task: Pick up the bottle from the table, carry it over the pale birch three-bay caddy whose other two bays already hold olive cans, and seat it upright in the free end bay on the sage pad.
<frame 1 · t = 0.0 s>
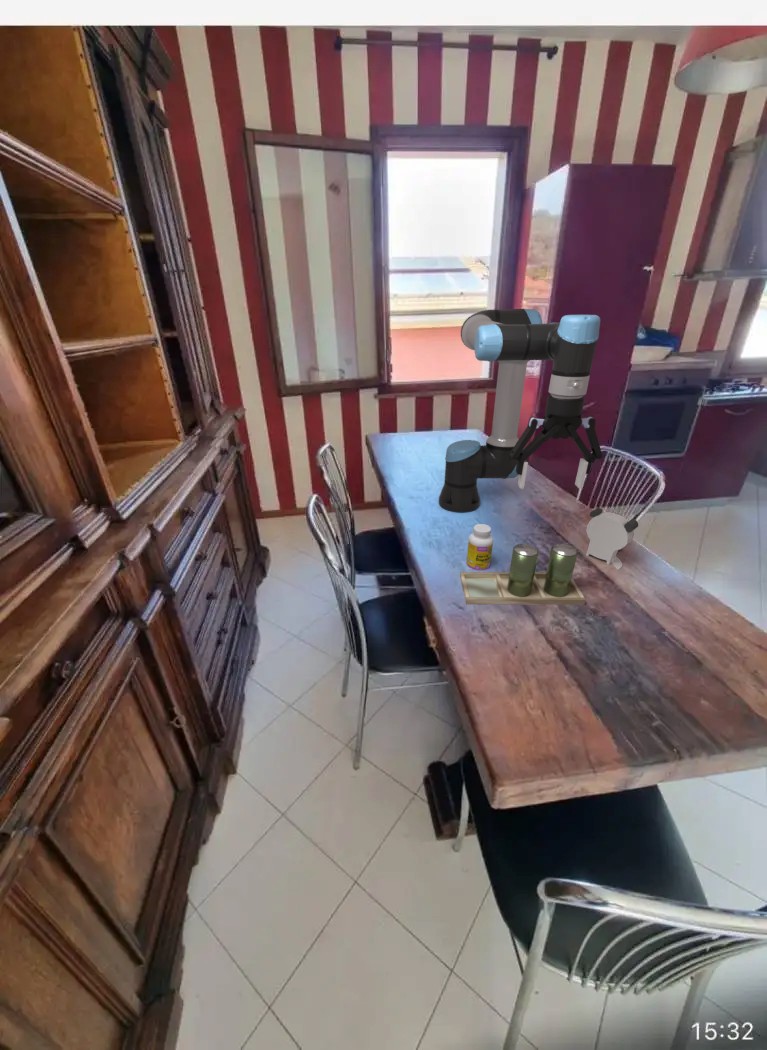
hand: (549, 486, 100), 28 cm above the table, fingers open, 13 cm apart
caddy: (518, 593, 109), on the table
panda figurine: (600, 561, 121), on the table
can b: (555, 590, 108), point 1 cm above the table, touching caddy
supplement bottle: (477, 567, 120), on the table
can a: (519, 589, 108), point 1 cm above the table, touching caddy
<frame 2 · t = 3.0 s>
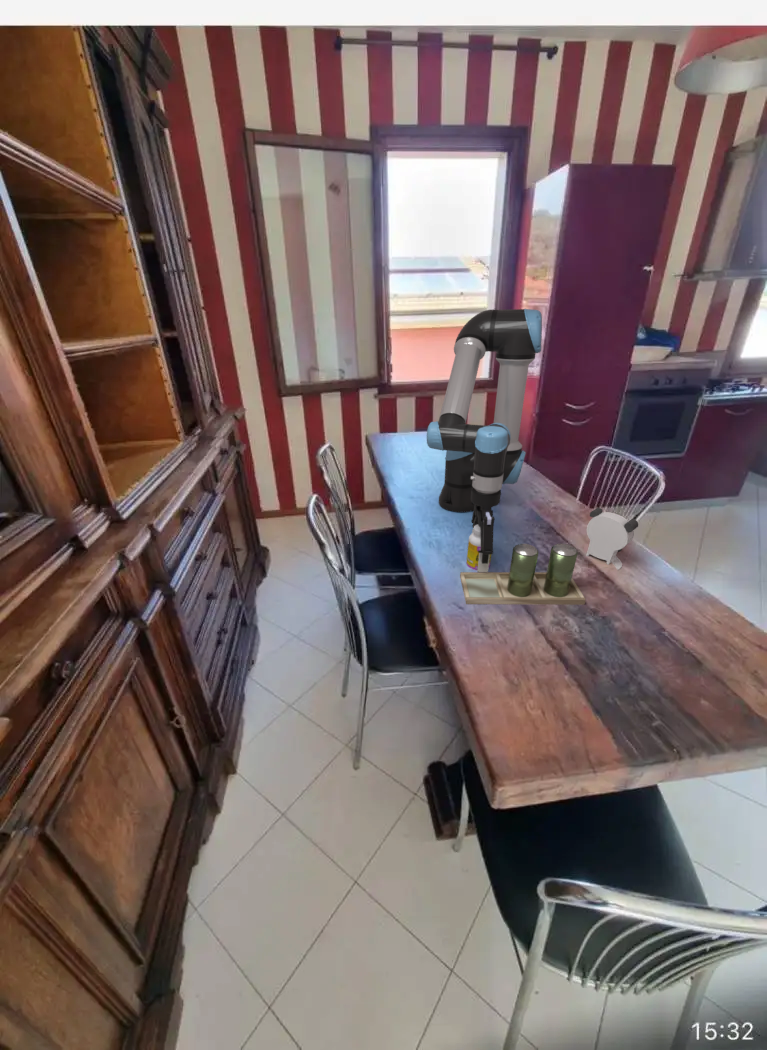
hand: (478, 559, 118), 3 cm above the table, fingers open, 11 cm apart
nothing on the table moved.
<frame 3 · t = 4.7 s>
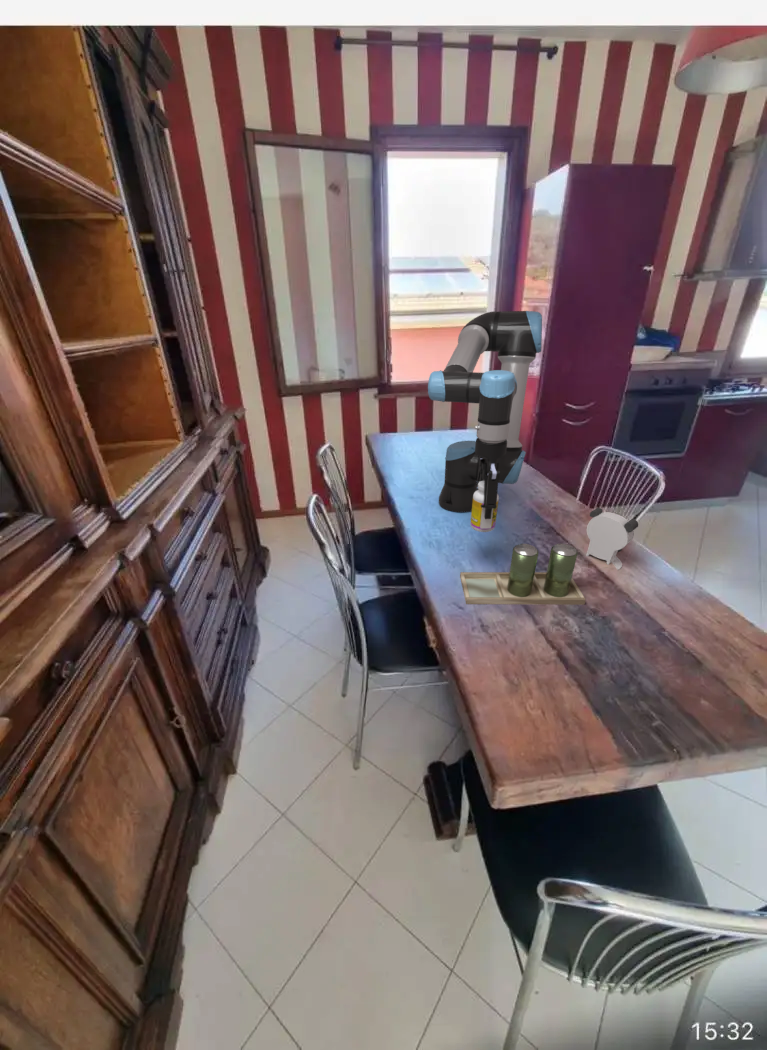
hand: (483, 520, 113), 15 cm above the table, fingers closed on supplement bottle, 7 cm apart
supplement bottle: (482, 527, 114), point 13 cm above the table, touching gripper
everything else where it was.
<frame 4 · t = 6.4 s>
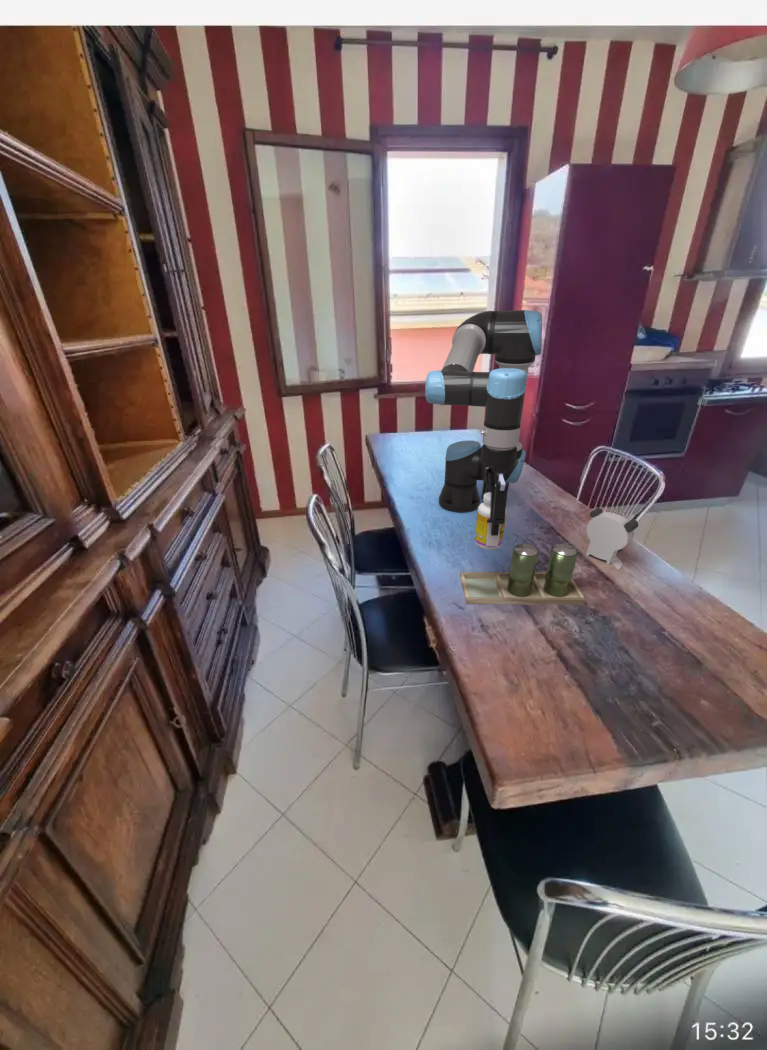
hand: (488, 537, 101), 17 cm above the table, fingers closed on supplement bottle, 7 cm apart
supplement bottle: (488, 544, 102), point 15 cm above the table, touching gripper
everything else where it was.
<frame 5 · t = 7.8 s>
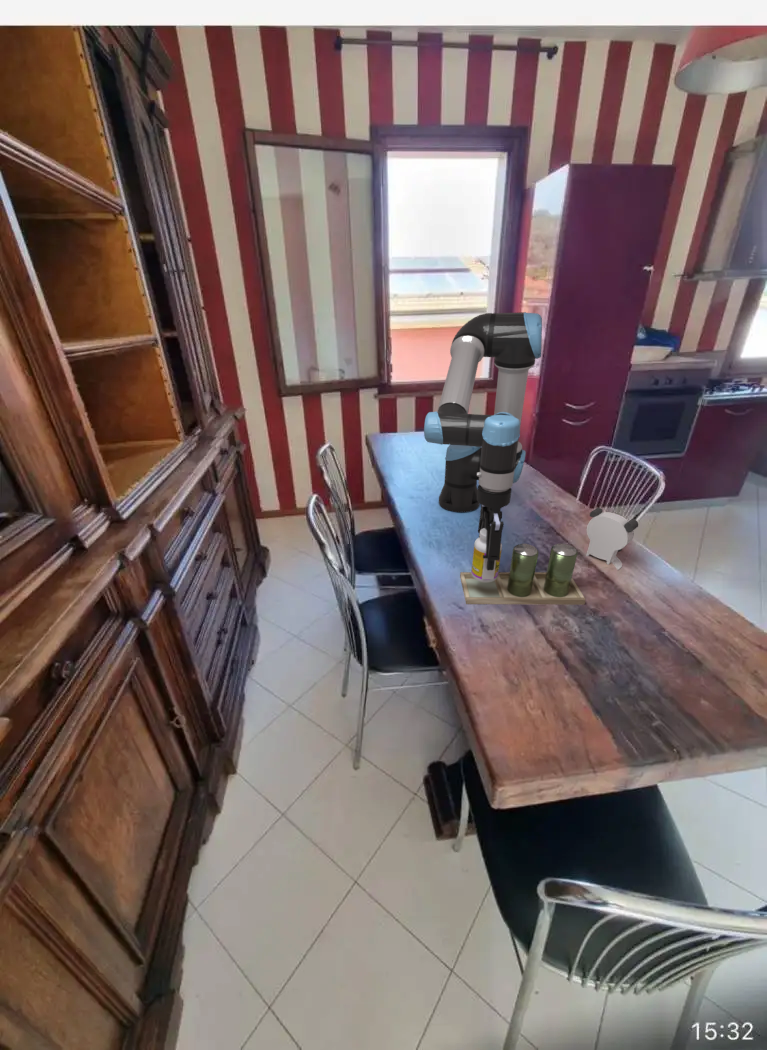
hand: (484, 569, 106), 7 cm above the table, fingers closed on supplement bottle, 7 cm apart
supplement bottle: (484, 576, 107), point 5 cm above the table, touching gripper
everything else where it was.
when the fingers open (4 cm above the table, at t = 9.2 s): supplement bottle drops 1 cm, resting on caddy.
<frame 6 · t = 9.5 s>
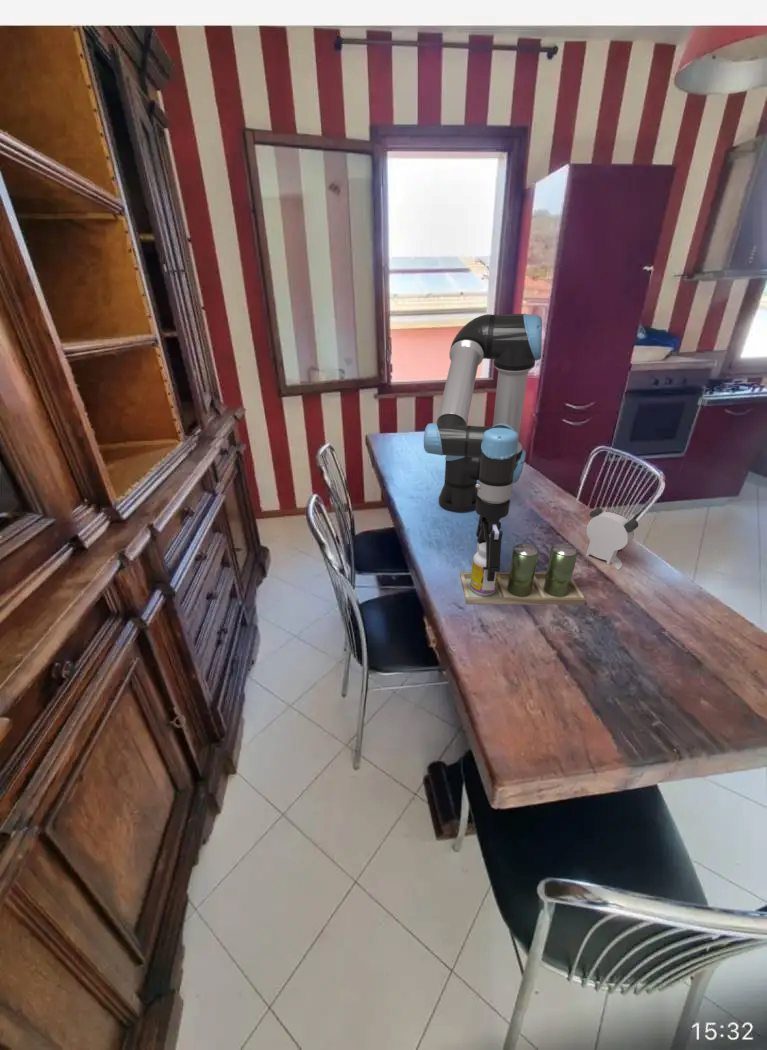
hand: (484, 576, 107), 5 cm above the table, fingers open, 10 cm apart
supplement bottle: (482, 589, 109), point 1 cm above the table, touching caddy
everything else where it was.
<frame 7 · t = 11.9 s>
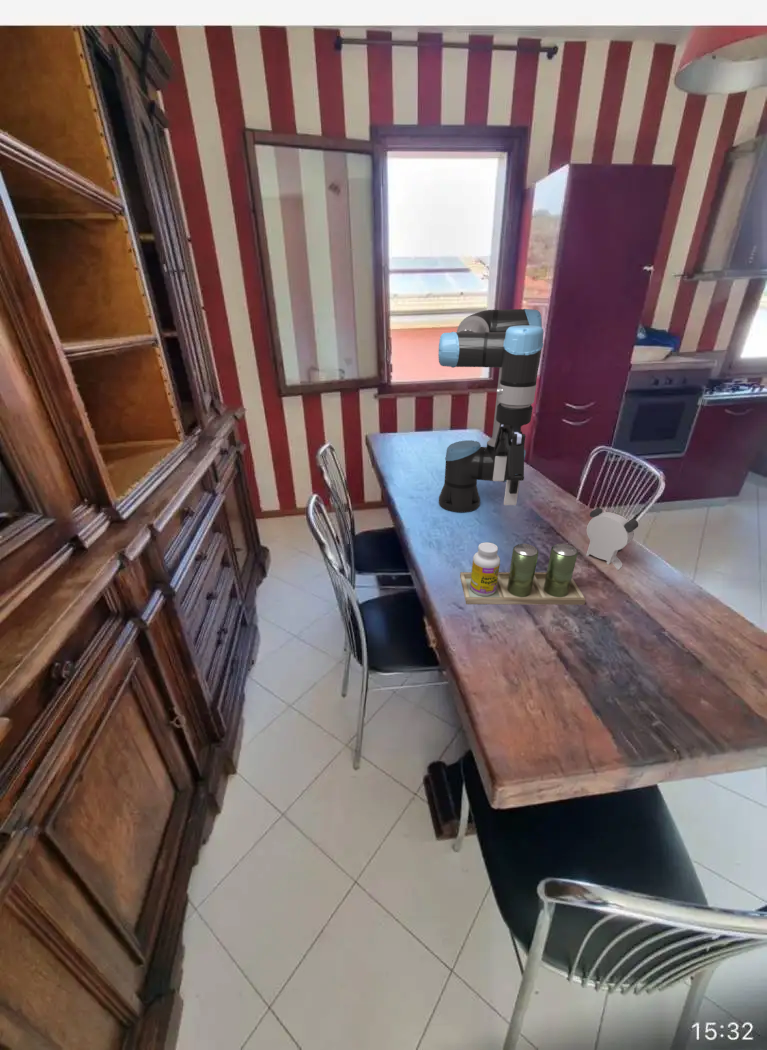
hand: (503, 491, 102), 26 cm above the table, fingers open, 13 cm apart
nothing on the table moved.
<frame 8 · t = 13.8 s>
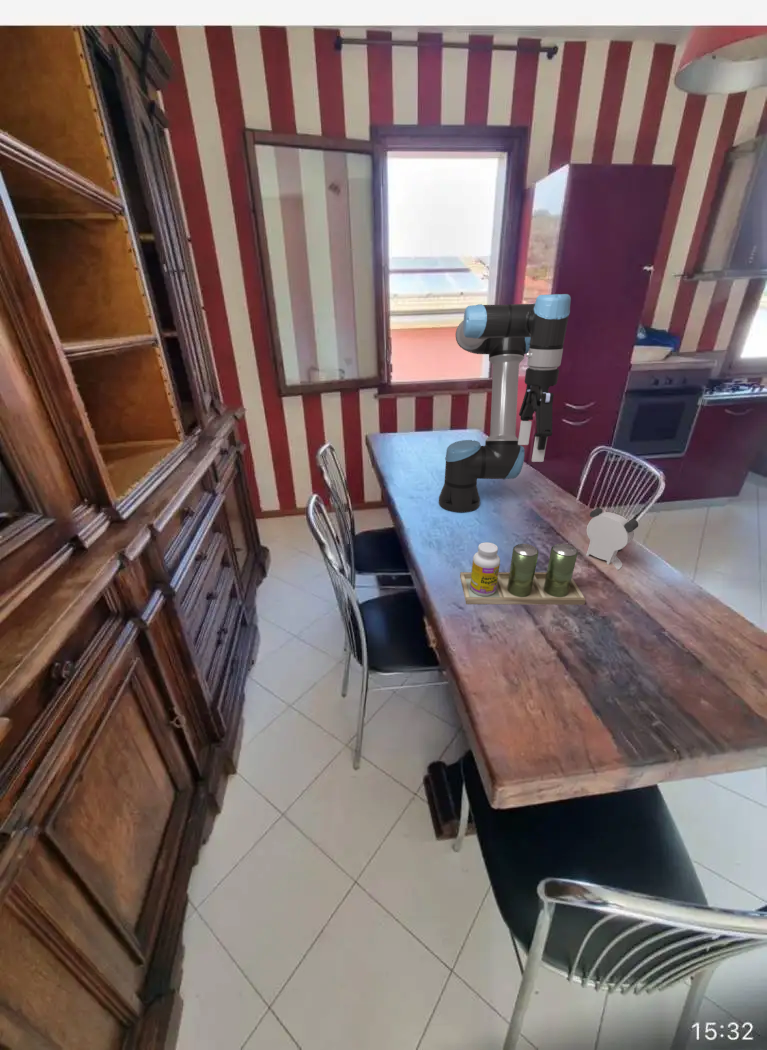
hand: (529, 452, 110), 32 cm above the table, fingers open, 13 cm apart
nothing on the table moved.
at the end: supplement bottle inside the target area on the caddy (0.1 cm from its centre), point 1.0 cm above the caddy's base; supplement bottle tilted 0°; the gripper is holding nothing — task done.
